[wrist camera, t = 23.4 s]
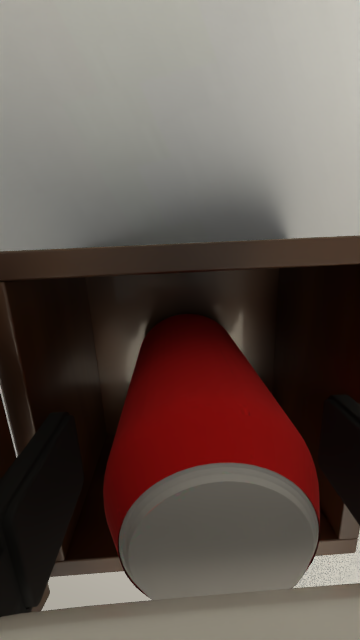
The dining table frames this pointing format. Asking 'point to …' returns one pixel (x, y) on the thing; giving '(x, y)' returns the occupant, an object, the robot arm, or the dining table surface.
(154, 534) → the beverage can
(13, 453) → the lid
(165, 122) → the dining table surface
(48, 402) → the chest
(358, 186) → the dining table surface
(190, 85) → the dining table surface
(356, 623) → the robot arm
